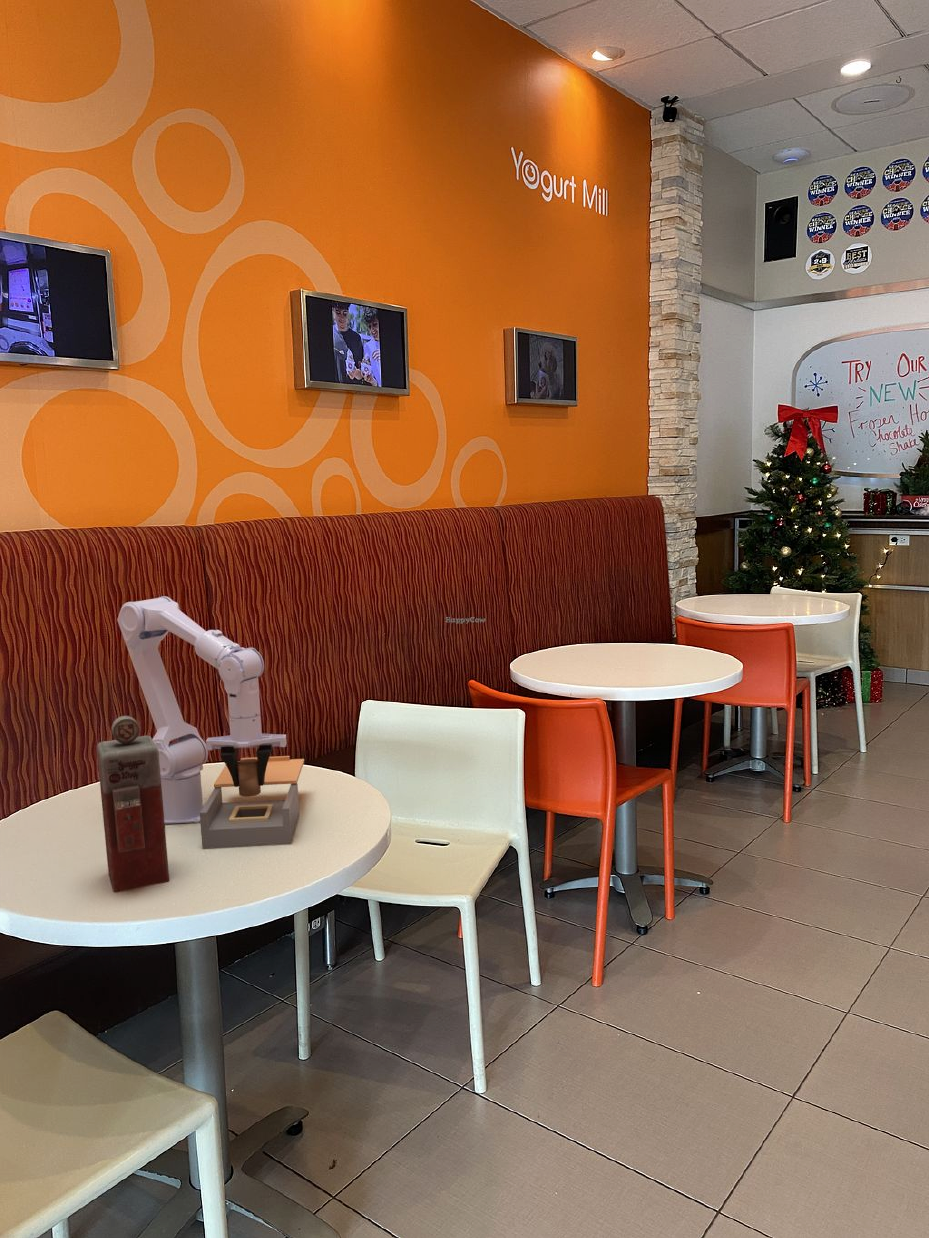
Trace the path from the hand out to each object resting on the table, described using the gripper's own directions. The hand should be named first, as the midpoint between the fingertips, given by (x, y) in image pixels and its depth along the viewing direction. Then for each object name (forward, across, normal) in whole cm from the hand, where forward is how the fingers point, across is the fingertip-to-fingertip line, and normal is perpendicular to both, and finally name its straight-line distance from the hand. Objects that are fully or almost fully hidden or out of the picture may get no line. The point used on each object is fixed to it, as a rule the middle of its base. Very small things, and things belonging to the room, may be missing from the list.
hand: (249, 784), depth 176 cm
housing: (+9, 0, 0) cm, 9 cm away
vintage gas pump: (+10, -16, -19) cm, 26 cm away
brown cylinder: (+2, 0, 0) cm, 2 cm away
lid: (+2, 0, +13) cm, 13 cm away
